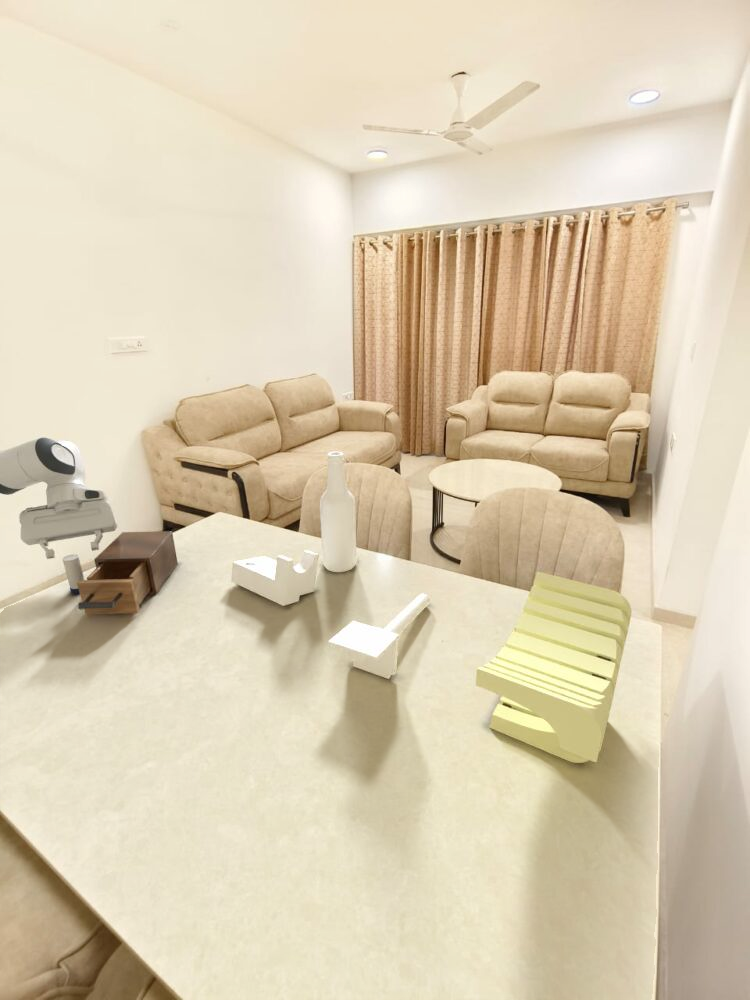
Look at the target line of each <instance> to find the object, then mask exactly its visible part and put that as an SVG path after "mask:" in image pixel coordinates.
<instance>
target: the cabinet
mask: <svg viewBox="0 0 750 1000" xmlns="http://www.w3.org/2000/svg"><path fill="white" fill-rule="evenodd" d="M93 560H94V564H95V565H94V566H95V569H96V568H97V567H98V566H99V565H100V564H101V563H102V562H132V561H147V565H148V570H149V575H150V579H151V584H152V588H151V590H150V591H149V592H148V594H147V595H157V594H158V593H159V592H160V590H161V589H162V587H163V586H164V585H165V583H166V582H167V580H168V579H169V578H170V576H172V573H173V572H174V571H175V569H176V568H177V566H178V565H179V562H178V556H177V550H176V544H175V540H174V535H173V530H166V531H165V530H163V531H162V530H161V531H122V532H121V533H120V534H119V535H118V536H117V537H116V538H114V539H113V540H112V542H111V543H110V544H109V545H108V546H107V547H105V548H104V549H103V550H102V551H101V552H100V553H99V554H98V555H97V556H96V557H95V558H94V559H93Z"/></svg>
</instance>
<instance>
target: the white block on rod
mask: <svg viewBox="0 0 750 1000" xmlns="http://www.w3.org/2000/svg"><path fill="white" fill-rule="evenodd" d="M430 603H431V598H430V596H429V595H428V594H426V593H420V594H419V595H417V597H416V598H415V599H413V600H412V601H411V602H410V603H409V604H408V605H407V606H406V607H405V608H404V609H403V610H402V611H401V612H399V613H398V615H396V616H395V617H394V619H392V620H391V621H390V622H389V623H388V624H387V625H386V626H385V627H384V628H382V627H378V626H372V625H369V624H366V623H363V622H359V621H357V620H352V621H351V622H350V623H348V624H347V625H346V626H345V627H344V628H342V629H341V630H340V631H338V632H337V634H335V635H333V637H332V638H330V639H329V640H328V641H327V642H328V643H327V644H328V645H331V646H334V647H336V648H340V649H342V650H346V651H348V652H349V654H348V660H349V661H352V666H353V667H354V668H357V669H360V670H362V671H365V672H367V673H370V674H373V675H376V676H378V677H381V678H385V679H388V680H390V678H391V677H392V676H395V675H396V674H397V670H398V669H397V667H398V652H399V638H400V637H399V636H400V634H401V633H403V631H404V630H406V628H407V627H408V626H410V624H411V623H412V622H413V621H415V619H416V618H417V617H418V616H419V615H420V614H421V613H422V612H423V611H424V610H425V608H427V607H428V605H430Z"/></svg>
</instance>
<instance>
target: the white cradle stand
mask: <svg viewBox="0 0 750 1000" xmlns="http://www.w3.org/2000/svg"><path fill="white" fill-rule="evenodd" d="M319 556H320V554H319V553H318V552H314V551H311V550H309V549H306V550H303V553H302V555H301V558H300V560H299V562H298V563H297V564H296V565H294V559H292V558H291V557H287V556H284V555H281V554H280V555H277V556H276V559H273V558H270V557H268V556H265V555H263V556H262V555H261V556H257V557H252V558H251V557H250V558H246V559H241V560H236V561H235V560H234V561H232V568H231V577H230V578H231V579H230V582H231V583H233V584H235V585H238V586H240V587H242V588H244V589H247V590H249V591H251V592H252V593H254V594H257V595H259V596H261V597H263V598H264V599H265V598H266V599H268V600H269V601H271V602H274V603H276V604H279V605H280V606H282V607H284V606H287V605H290V604H294V603H297V602H300V597H301V596H303V595H306V594H310V593H314V592H315V587H316V579H317V571H318V563H319Z"/></svg>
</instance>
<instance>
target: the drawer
mask: <svg viewBox="0 0 750 1000" xmlns="http://www.w3.org/2000/svg"><path fill="white" fill-rule="evenodd" d="M77 585H78V589H79V593H80V594H79V596H80V600H81V601H80V602H79V603H78V605H77V608H78V609H79V610H83V612H84V614H85V615H98V614H99V615H101V614H138V613H139V612H140V609H141V608H140V605H141V603H142V602H143V600H145V598H146V597H147V595H149V594H148V592H149V591H150V590H151V588H152V584H151V579H150V575H149V570H148V565H147V561H132V562H102V563H101V564H100V565H99V566H98V567H97V568H96V567H95V569H94V570H93V571H91V572H90V574H89V575H88V576H87V577H86V579H84V580H80V581H79V582H77Z"/></svg>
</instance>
